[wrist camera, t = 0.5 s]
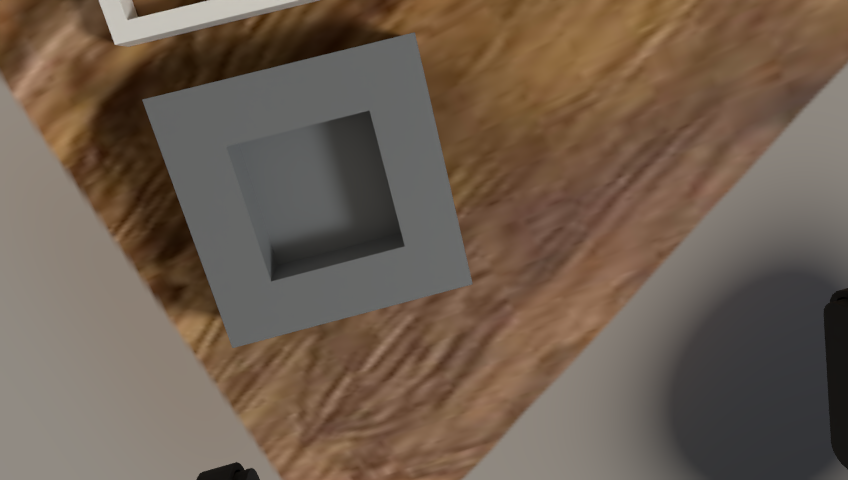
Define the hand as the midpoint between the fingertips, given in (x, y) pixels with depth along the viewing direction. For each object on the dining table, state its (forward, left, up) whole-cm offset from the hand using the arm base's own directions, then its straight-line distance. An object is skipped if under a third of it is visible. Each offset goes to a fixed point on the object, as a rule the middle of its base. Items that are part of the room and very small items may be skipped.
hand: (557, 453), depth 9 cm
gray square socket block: (-1, -5, -28) cm, 28 cm away
